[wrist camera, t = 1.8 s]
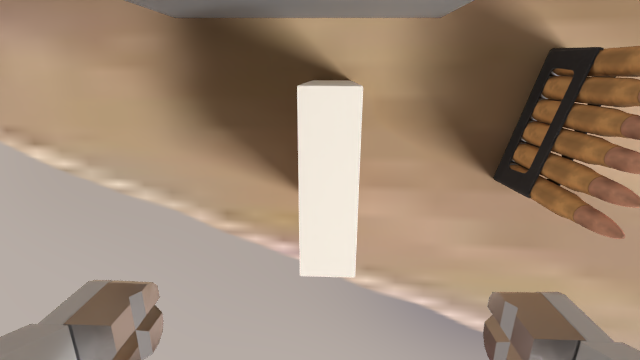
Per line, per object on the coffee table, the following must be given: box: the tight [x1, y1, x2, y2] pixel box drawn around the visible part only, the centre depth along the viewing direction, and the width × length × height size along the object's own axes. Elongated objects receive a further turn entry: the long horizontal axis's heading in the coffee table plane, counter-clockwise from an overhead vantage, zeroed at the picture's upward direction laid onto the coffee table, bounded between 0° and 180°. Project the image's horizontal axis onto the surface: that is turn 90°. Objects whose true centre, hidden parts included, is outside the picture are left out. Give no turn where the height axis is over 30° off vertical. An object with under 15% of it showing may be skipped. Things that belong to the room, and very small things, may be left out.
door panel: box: [297, 80, 363, 277], centre depth 23 cm, size 3×10×12 cm, turn 0°
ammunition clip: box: [493, 46, 640, 239], centre depth 21 cm, size 11×2×12 cm, turn 165°
